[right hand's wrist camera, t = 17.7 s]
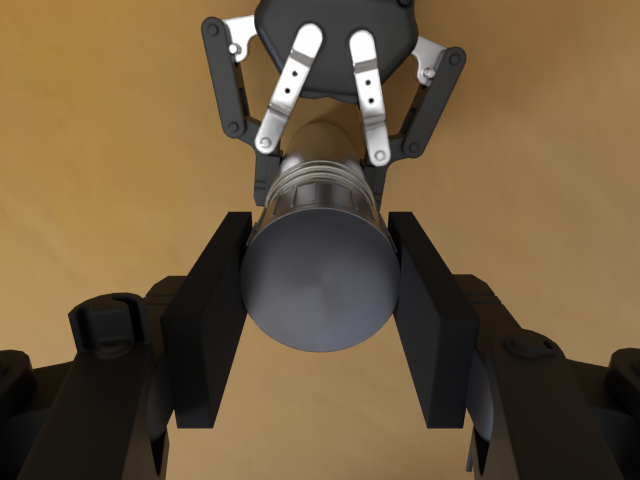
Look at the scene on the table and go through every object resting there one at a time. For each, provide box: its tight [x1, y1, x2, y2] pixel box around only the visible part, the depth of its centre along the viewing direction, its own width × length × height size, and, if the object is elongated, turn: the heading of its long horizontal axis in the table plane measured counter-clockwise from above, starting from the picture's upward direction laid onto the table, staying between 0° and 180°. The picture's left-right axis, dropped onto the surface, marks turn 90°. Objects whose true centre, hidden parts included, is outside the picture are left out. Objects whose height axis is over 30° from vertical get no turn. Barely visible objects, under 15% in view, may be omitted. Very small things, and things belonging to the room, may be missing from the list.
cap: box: [239, 183, 401, 352], centre depth 13 cm, size 5×5×3 cm
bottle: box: [264, 122, 376, 210], centre depth 22 cm, size 5×5×19 cm
